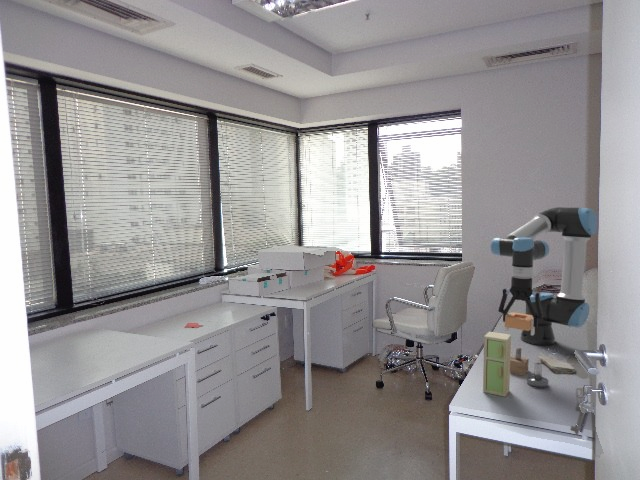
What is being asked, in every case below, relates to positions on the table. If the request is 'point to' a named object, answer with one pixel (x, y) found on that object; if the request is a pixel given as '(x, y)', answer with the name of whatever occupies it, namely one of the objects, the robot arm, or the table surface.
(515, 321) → the slotted orange block
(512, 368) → the stand
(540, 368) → the hub
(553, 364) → the stone
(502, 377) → the toy refrigerator
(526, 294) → the robot arm
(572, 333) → the table surface
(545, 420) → the table surface
